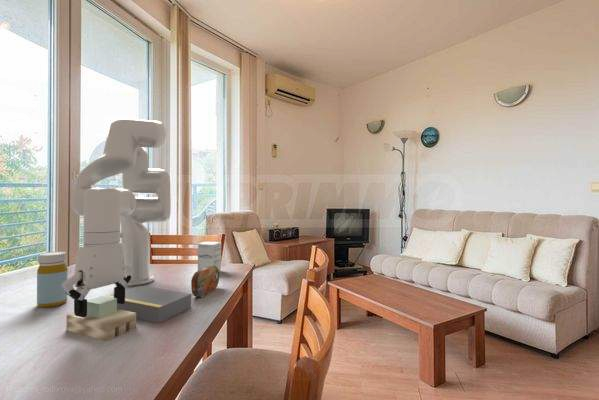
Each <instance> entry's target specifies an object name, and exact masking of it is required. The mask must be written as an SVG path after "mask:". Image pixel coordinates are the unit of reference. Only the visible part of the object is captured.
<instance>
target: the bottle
mask: <svg viewBox="0 0 599 400" xmlns="http://www.w3.org/2000/svg"><path fill="white" fill-rule="evenodd" d="M66 252H67V251H49V252H41V253H40V254H39V255H38V264H39V265H38V268H37V271H36V305H37V306H38V307H40V308H52V307H53V308H54V307H58V306H62V305H63V304H65V303H66V302H67V301H68V295H67V294H66V291H65V290H64V289H63V287H62V283H63V282H65V281H66V280H67V279H68V266H67V260H66V259H67V253H66Z"/></svg>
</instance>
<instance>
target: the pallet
mask: <svg viewBox="0 0 599 400" xmlns="http://www.w3.org/2000/svg"><path fill="white" fill-rule="evenodd" d="M65 323H66V329H65V330H66V331H69V332H72V333H76V334H80V335H83V336H88V337H91V338H95V339H99V340H103V341H107V342H108V341H110V340H113V339H115V337H116V336H121V335H124V334H126V333H127V331H129V332H130V331H132V330H135V329H136V328H137V318H136V313H135V312H130V311H125V310H120V309H117V312H115V313H113V314H110V315H107V316H105V317H102V318H100V319H99V318H94V317H90V316H86V317H79V316H75V313H74V311H73V312H70V313H68V314H66V322H65Z"/></svg>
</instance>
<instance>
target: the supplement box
mask: <svg viewBox="0 0 599 400" xmlns="http://www.w3.org/2000/svg"><path fill="white" fill-rule="evenodd" d="M197 245H198V246H197V271H199V270H201V269H203V268H205V267H207V266H216V267H217V268H218V271H219V272H220V271H222V267H221V266H222V242H219V241H202V242H199V243H198V244H197Z"/></svg>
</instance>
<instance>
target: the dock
mask: <svg viewBox="0 0 599 400" xmlns="http://www.w3.org/2000/svg"><path fill="white" fill-rule="evenodd" d="M106 296H107V297H112V298H114V293H112V294H109V295H106ZM191 308H192V293H188V292H182V291H181V292H180V291H175V290H169V289H163V288H157V287H151V286H144V285H137V286H133V287H132V288H129V289H125V303H124V304H119V303H117V309H120V310H125V311H130V312H135V313H136V319H139V320H141V321H142V320H143V321H147V322H151V323H156V324H160V323H162V322H164V321H166V320H168V319H171V318H173V317H174V316H177V315H179V314H181V313H183V312H185V311H186V310H189V309H191Z"/></svg>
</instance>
